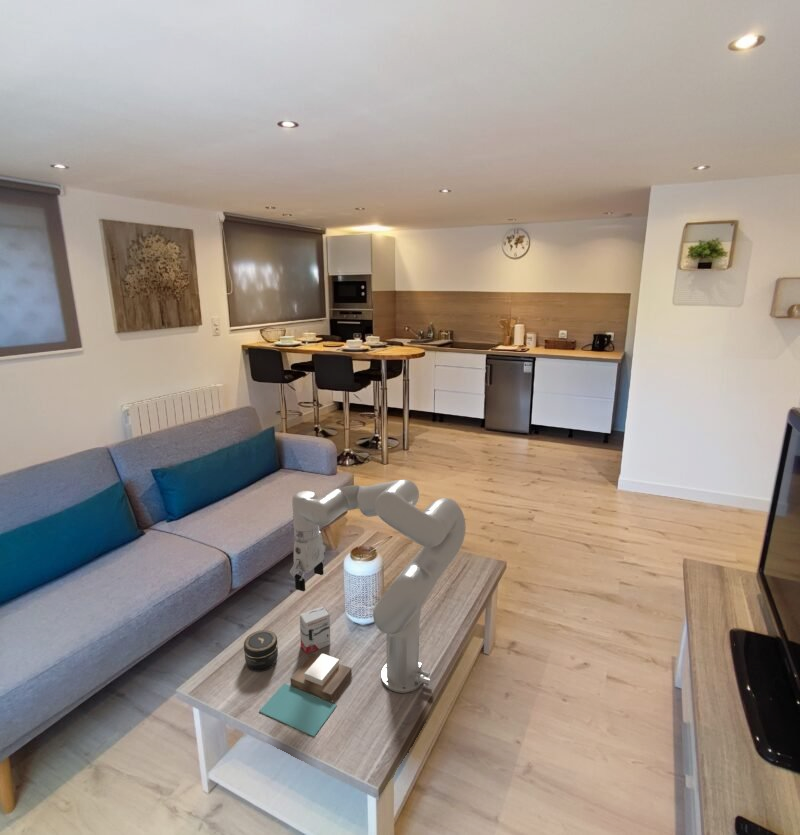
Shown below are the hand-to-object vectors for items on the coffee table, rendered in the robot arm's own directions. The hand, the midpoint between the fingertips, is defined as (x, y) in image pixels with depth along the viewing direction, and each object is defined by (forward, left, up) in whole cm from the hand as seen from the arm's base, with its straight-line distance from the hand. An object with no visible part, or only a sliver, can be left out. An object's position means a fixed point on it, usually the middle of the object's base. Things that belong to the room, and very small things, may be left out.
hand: (309, 581), depth 153 cm
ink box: (-1, 0, -24) cm, 24 cm away
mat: (-11, +22, -24) cm, 34 cm away
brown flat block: (-11, +11, -24) cm, 28 cm away
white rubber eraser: (-11, +11, -21) cm, 26 cm away
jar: (+10, +13, -24) cm, 29 cm away
